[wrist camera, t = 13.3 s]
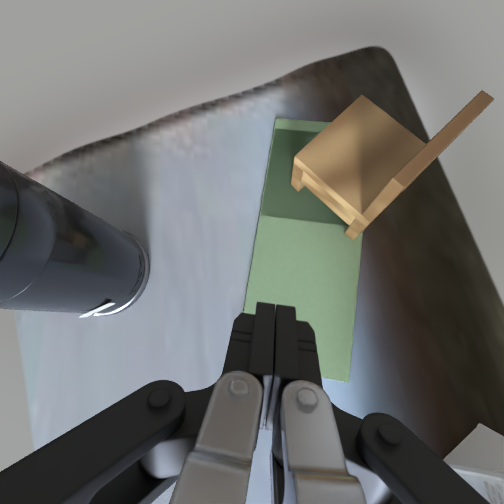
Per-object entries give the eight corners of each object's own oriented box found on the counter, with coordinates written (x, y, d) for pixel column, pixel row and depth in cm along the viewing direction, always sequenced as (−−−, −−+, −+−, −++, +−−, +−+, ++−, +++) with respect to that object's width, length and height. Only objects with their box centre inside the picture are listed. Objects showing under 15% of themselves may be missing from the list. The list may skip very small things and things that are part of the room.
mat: (235, 360, 31) (235, 361, 31) (275, 119, 37) (275, 118, 36) (348, 382, 29) (348, 382, 29) (372, 127, 35) (372, 125, 35)
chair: (290, 184, 34) (301, 102, 21) (347, 132, 35) (389, 24, 22) (352, 241, 32) (404, 188, 20) (410, 184, 33) (495, 98, 21)
